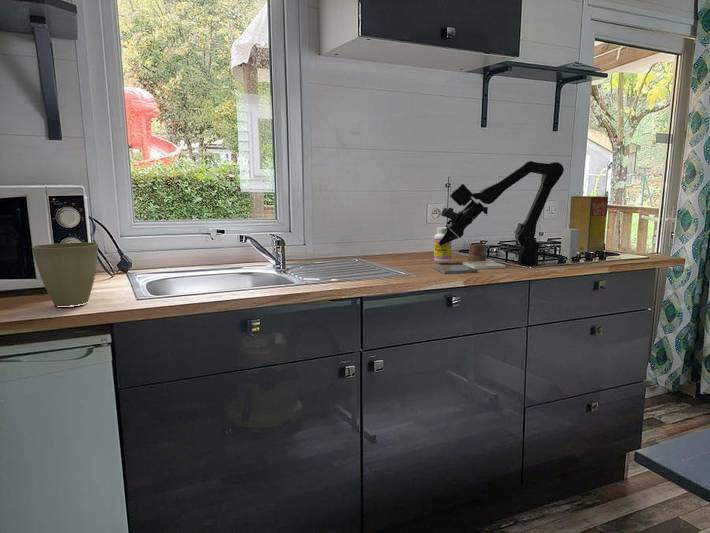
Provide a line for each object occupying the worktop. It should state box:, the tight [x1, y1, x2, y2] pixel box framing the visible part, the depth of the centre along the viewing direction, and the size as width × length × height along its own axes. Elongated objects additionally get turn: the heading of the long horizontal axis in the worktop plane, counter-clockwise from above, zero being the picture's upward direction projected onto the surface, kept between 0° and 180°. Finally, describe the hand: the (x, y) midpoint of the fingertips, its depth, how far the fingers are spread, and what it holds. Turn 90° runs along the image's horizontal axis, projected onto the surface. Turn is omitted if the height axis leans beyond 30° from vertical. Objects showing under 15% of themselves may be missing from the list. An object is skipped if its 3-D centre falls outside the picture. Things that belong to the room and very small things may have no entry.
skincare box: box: [559, 228, 579, 260], centre depth 201 cm, size 6×4×12 cm
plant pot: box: [31, 242, 99, 306], centre depth 128 cm, size 15×15×16 cm
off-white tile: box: [461, 260, 506, 270], centre depth 185 cm, size 12×12×1 cm
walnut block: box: [468, 243, 487, 261], centre depth 195 cm, size 5×5×7 cm
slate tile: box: [432, 264, 478, 275], centre depth 176 cm, size 12×12×1 cm
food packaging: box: [568, 195, 609, 253], centre depth 218 cm, size 13×9×25 cm
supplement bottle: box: [433, 226, 452, 262], centre depth 191 cm, size 7×7×13 cm
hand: (439, 243), depth 191 cm, fingers closed on supplement bottle, 7 cm apart
